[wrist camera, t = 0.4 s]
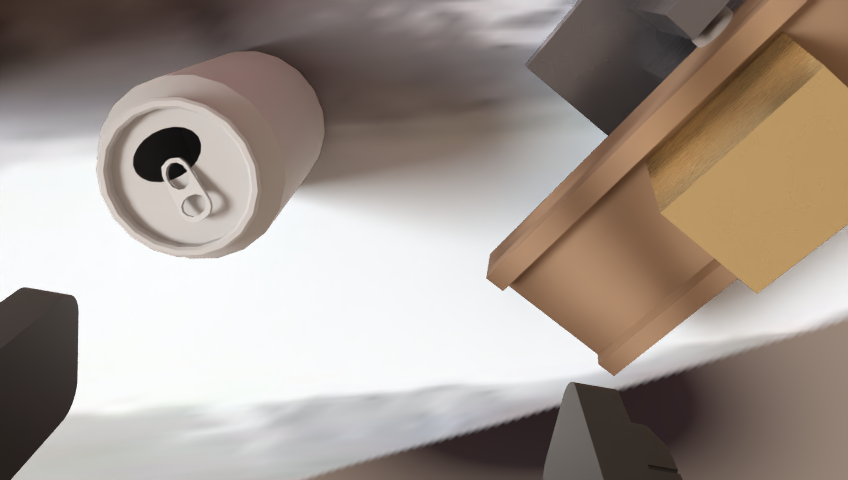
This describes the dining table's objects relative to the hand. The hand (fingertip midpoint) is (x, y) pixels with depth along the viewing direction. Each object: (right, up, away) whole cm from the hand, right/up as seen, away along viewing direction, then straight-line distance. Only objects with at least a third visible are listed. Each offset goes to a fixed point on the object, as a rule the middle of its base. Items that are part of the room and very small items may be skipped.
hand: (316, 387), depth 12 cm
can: (-7, +9, +27) cm, 29 cm away
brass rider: (+15, +6, +18) cm, 24 cm away
